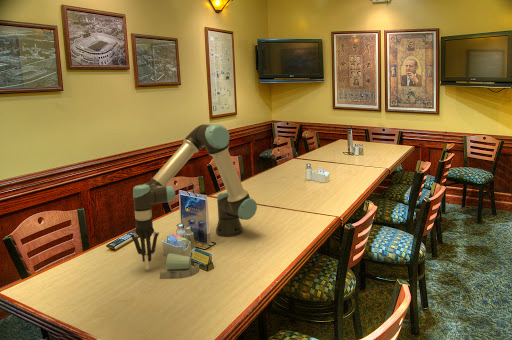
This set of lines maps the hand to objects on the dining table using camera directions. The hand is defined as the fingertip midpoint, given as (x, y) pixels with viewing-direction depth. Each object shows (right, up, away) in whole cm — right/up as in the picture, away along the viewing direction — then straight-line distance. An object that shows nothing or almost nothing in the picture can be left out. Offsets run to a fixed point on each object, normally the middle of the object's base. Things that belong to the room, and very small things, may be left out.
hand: (147, 267), depth 206 cm
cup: (+18, -2, +1) cm, 18 cm away
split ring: (+16, -1, 0) cm, 16 cm away
